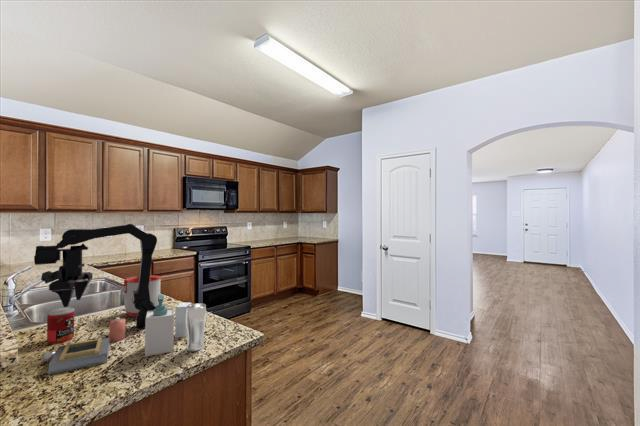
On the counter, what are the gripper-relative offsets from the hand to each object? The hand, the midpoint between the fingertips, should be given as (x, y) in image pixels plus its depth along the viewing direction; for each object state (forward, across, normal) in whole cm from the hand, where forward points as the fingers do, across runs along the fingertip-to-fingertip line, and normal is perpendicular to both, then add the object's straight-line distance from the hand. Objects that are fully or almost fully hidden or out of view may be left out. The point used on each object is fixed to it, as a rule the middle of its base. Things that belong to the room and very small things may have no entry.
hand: (72, 303), depth 111 cm
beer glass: (+15, +20, +45) cm, 52 cm away
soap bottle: (+14, +18, +33) cm, 41 cm away
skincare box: (+15, +6, +39) cm, 42 cm away
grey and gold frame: (+14, +19, +9) cm, 26 cm away
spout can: (+14, +4, +16) cm, 22 cm away
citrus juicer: (+14, -26, +16) cm, 34 cm away
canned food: (+14, -1, -4) cm, 14 cm away
